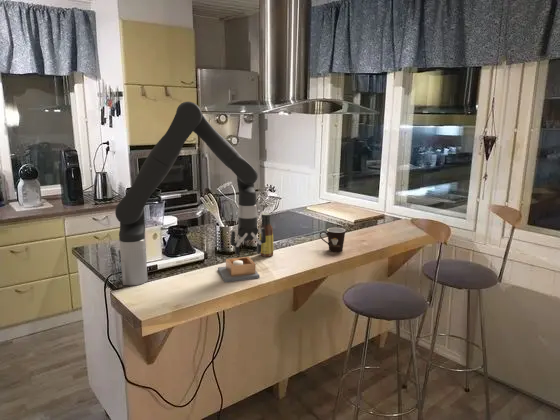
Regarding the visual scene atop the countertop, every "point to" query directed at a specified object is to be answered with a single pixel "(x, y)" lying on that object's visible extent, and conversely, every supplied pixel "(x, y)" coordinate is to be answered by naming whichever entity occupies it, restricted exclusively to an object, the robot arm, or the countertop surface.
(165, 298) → the countertop surface
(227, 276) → the post base
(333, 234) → the coffee mug
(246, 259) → the brown wooden open box
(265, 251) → the sauce bottle
